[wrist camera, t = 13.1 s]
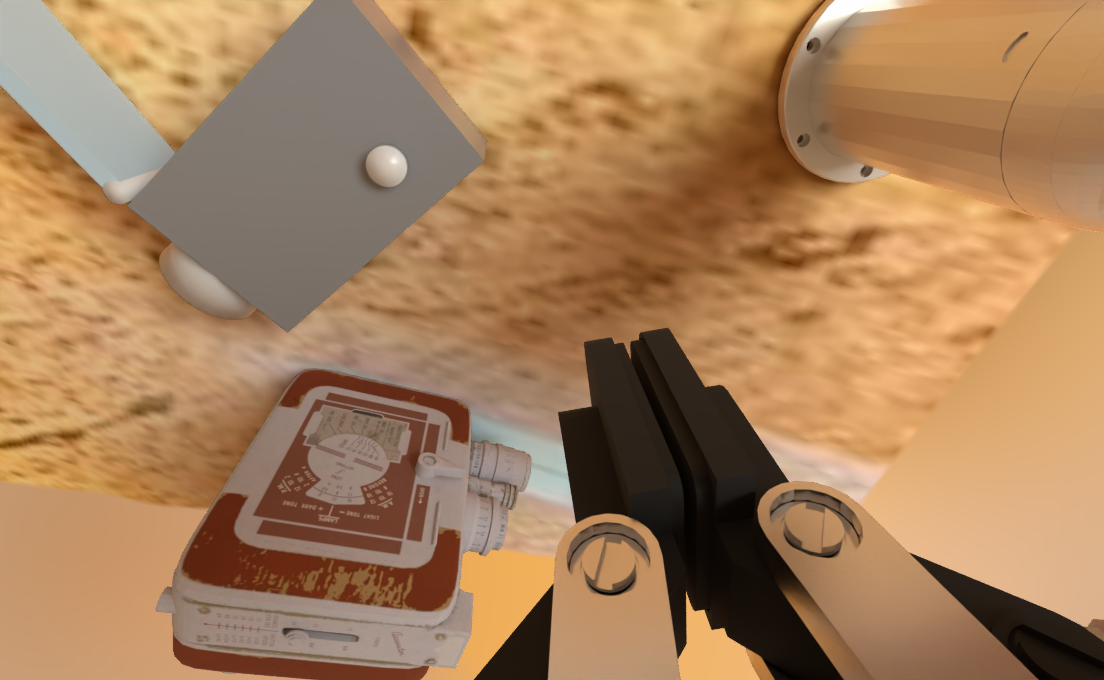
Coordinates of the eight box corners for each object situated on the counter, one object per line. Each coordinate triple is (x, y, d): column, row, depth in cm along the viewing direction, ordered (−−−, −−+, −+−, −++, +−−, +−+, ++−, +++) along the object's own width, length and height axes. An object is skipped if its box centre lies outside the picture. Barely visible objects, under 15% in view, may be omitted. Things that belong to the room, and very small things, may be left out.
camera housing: (369, -6, 29) (328, -24, 22) (487, 140, 33) (483, 163, 26) (164, 212, 33) (79, 252, 27) (291, 314, 38) (245, 371, 31)
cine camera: (505, 478, 48) (509, 719, 31) (288, 436, 43) (147, 692, 26) (537, 403, 44) (561, 631, 27) (301, 347, 39) (144, 580, 22)
